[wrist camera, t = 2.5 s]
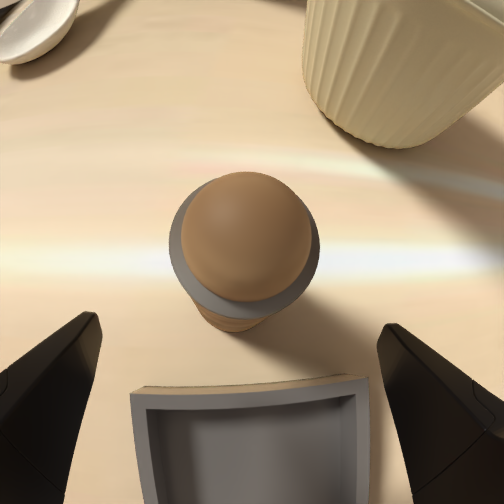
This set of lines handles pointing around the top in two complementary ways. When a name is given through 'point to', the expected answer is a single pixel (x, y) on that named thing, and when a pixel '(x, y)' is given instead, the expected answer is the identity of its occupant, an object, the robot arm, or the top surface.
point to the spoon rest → (37, 30)
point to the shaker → (243, 249)
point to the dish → (254, 442)
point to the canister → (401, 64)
